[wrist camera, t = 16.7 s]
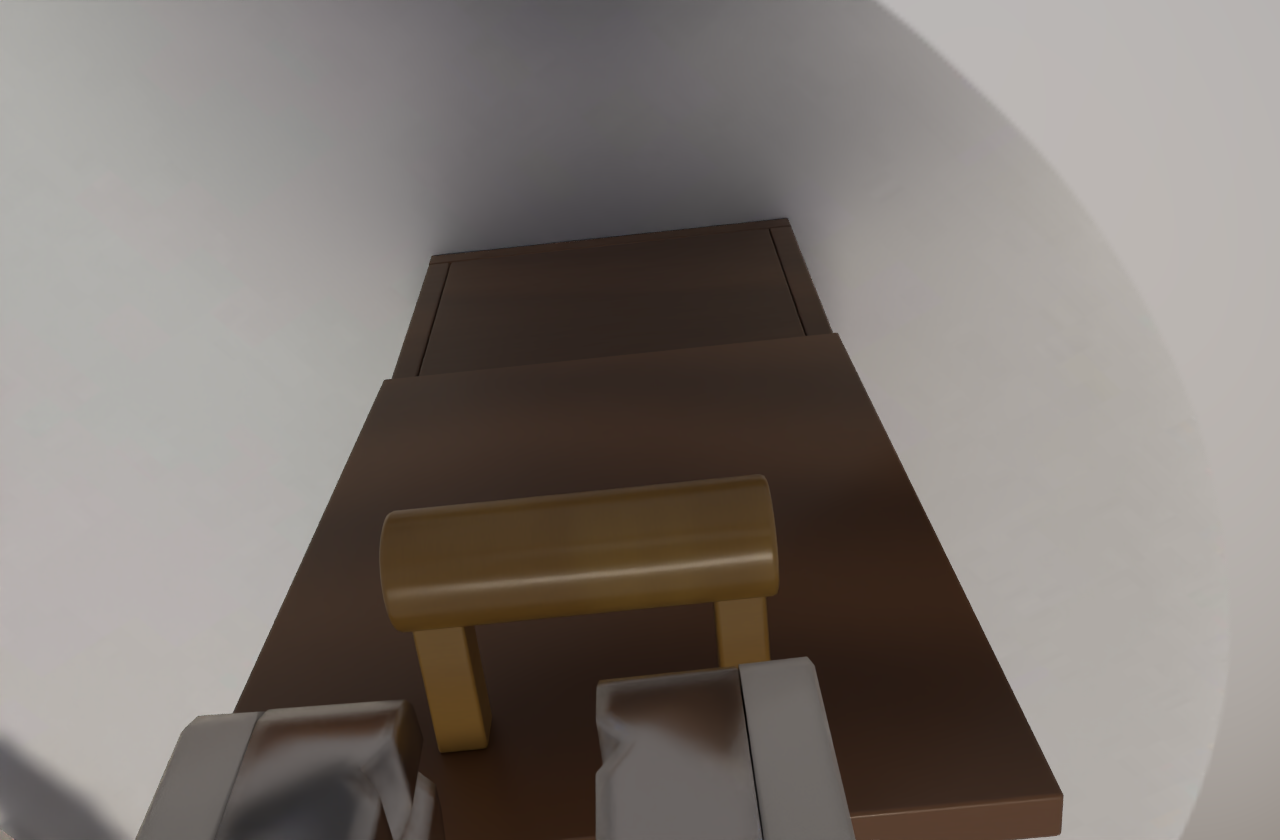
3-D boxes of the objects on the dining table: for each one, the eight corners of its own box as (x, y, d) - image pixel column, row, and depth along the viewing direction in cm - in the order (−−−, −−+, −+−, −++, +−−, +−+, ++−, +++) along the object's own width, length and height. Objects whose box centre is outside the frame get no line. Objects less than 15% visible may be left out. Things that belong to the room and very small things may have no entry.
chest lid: (1062, 837, 15) (1081, 544, 13) (169, 920, 15) (66, 644, 13) (839, 357, 30) (833, 188, 28) (388, 404, 30) (353, 240, 28)
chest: (803, 600, 45) (844, 773, 37) (506, 629, 45) (488, 806, 38) (788, 217, 37) (835, 337, 30) (431, 255, 38) (388, 384, 30)
